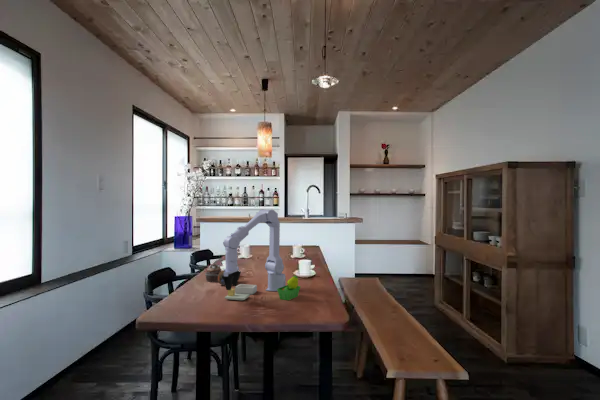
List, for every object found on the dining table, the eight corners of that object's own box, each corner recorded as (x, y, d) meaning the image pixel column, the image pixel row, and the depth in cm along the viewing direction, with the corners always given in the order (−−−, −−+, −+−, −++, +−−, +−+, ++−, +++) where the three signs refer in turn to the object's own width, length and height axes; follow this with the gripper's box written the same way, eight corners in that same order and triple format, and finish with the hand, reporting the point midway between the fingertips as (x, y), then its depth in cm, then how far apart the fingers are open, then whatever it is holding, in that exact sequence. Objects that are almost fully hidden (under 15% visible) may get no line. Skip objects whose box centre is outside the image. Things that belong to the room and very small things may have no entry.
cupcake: (212, 278, 222) (212, 262, 222) (224, 279, 217) (224, 263, 217) (201, 281, 213) (201, 264, 213) (214, 283, 209) (214, 266, 209)
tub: (256, 291, 190) (256, 284, 190) (252, 294, 184) (252, 287, 184) (239, 290, 192) (239, 284, 192) (235, 293, 186) (235, 287, 186)
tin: (220, 286, 201) (220, 271, 201) (216, 285, 203) (216, 271, 203) (240, 281, 213) (240, 267, 213) (236, 280, 215) (236, 267, 215)
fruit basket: (288, 294, 185) (288, 272, 185) (303, 296, 181) (303, 274, 180) (276, 299, 175) (276, 276, 175) (291, 302, 171) (291, 278, 171)
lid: (249, 297, 179) (249, 288, 179) (244, 301, 172) (244, 291, 172) (230, 296, 181) (230, 287, 181) (224, 300, 174) (224, 290, 174)
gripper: (229, 257, 185) (229, 284, 185) (217, 263, 170) (217, 291, 171) (242, 258, 183) (242, 284, 183) (231, 263, 169) (231, 291, 169)
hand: (231, 287), depth 177 cm, fingers open, 7 cm apart
